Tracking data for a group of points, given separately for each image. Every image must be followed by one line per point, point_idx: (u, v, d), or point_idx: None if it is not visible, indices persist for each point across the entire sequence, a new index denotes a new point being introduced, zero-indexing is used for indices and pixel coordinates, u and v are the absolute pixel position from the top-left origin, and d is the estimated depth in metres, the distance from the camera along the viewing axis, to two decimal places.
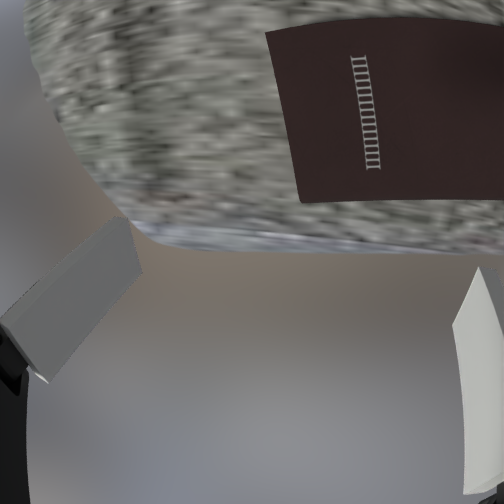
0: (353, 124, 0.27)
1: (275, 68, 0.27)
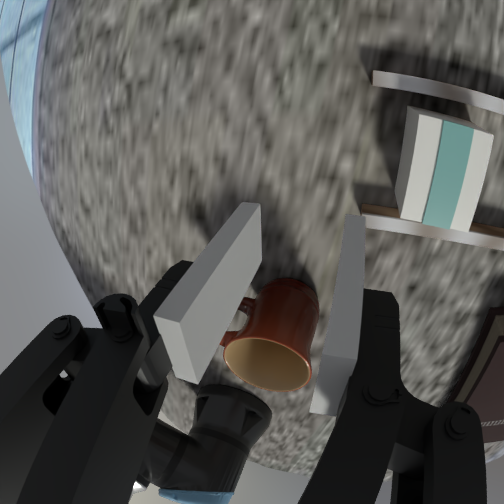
0: (501, 426, 0.31)
1: None
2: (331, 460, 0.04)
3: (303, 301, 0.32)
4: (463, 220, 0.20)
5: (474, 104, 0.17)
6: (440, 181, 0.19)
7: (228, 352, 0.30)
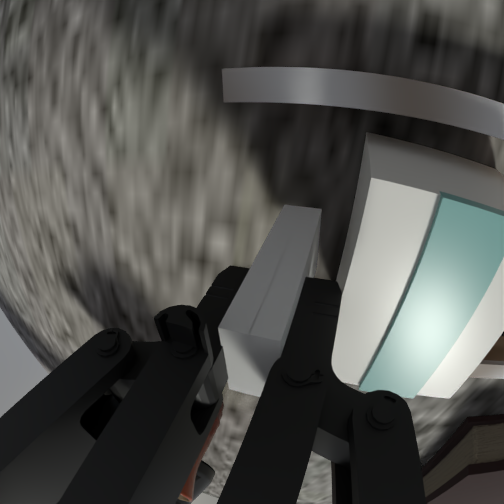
0: None
1: None
2: (253, 442, 0.05)
3: None
4: (444, 385, 0.10)
5: (471, 126, 0.08)
6: (408, 329, 0.09)
7: None
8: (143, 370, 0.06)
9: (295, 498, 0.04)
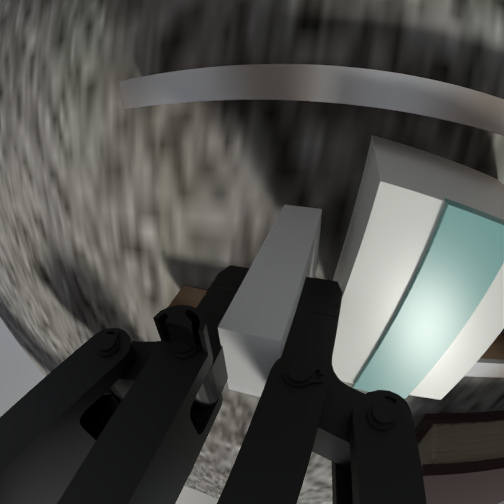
0: None
1: None
2: (253, 442, 0.05)
3: None
4: (437, 386, 0.10)
5: (338, 100, 0.09)
6: (405, 330, 0.09)
7: None
8: (143, 370, 0.06)
9: (295, 498, 0.04)
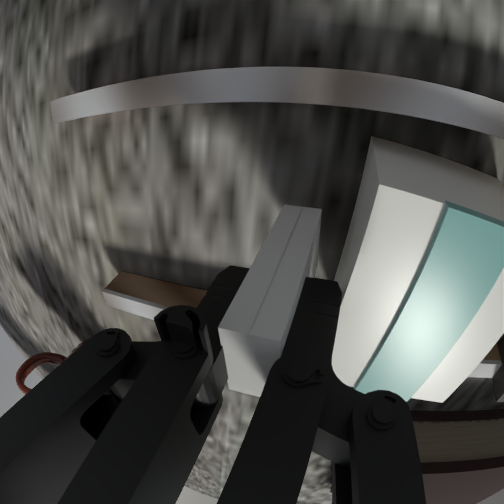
0: None
1: None
2: (253, 442, 0.05)
3: None
4: (439, 389, 0.10)
5: (192, 100, 0.10)
6: (406, 334, 0.09)
7: None
8: (143, 370, 0.06)
9: (295, 498, 0.04)
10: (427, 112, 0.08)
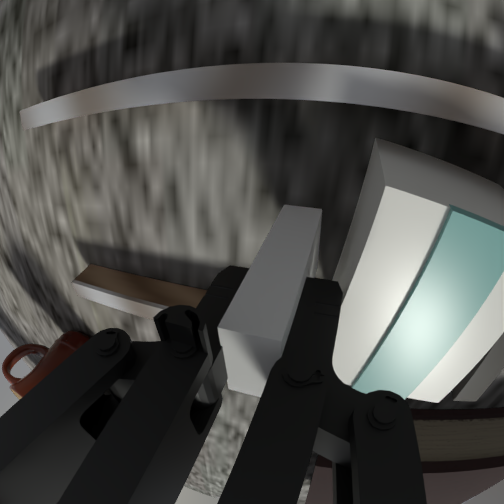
0: None
1: None
2: (254, 442, 0.05)
3: None
4: (434, 389, 0.10)
5: (124, 106, 0.11)
6: (405, 334, 0.09)
7: (19, 395, 0.23)
8: (142, 370, 0.06)
9: (296, 498, 0.04)
10: (332, 95, 0.09)
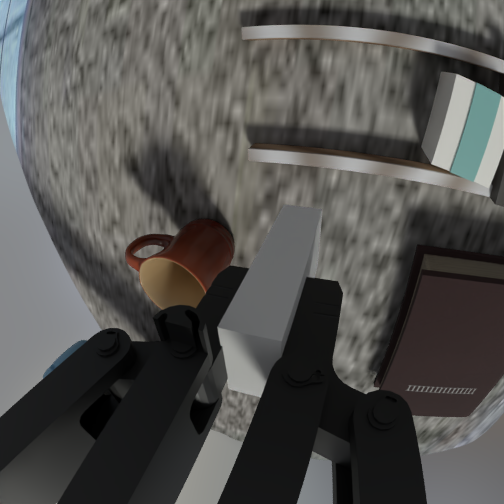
0: (444, 396, 0.36)
1: None
2: (254, 442, 0.05)
3: (211, 235, 0.36)
4: (486, 175, 0.20)
5: (337, 37, 0.21)
6: (469, 135, 0.19)
7: (143, 277, 0.34)
8: (143, 370, 0.06)
9: (296, 498, 0.04)
10: (429, 49, 0.19)
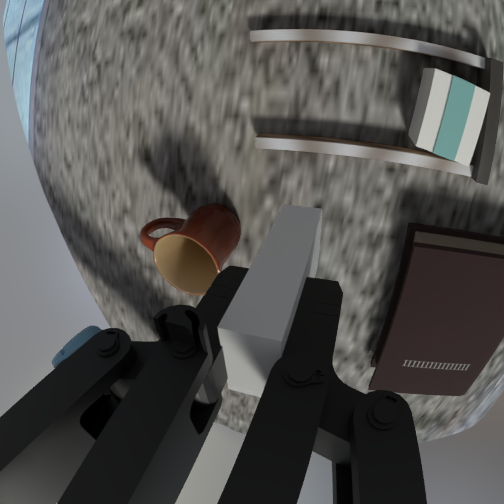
0: (439, 372, 0.39)
1: None
2: (254, 441, 0.05)
3: (220, 217, 0.39)
4: (465, 155, 0.24)
5: (332, 40, 0.25)
6: (448, 120, 0.23)
7: (157, 255, 0.37)
8: (142, 370, 0.06)
9: (296, 498, 0.04)
10: (413, 48, 0.22)
